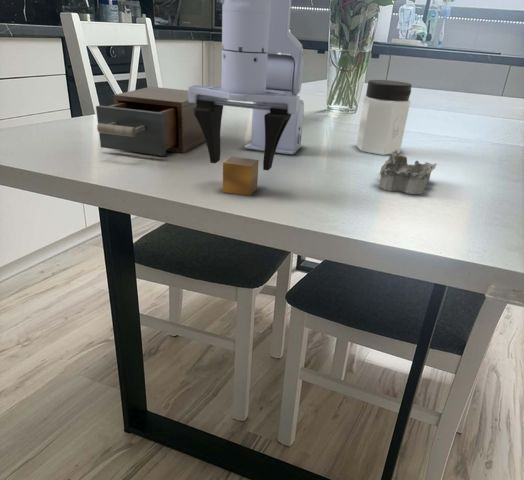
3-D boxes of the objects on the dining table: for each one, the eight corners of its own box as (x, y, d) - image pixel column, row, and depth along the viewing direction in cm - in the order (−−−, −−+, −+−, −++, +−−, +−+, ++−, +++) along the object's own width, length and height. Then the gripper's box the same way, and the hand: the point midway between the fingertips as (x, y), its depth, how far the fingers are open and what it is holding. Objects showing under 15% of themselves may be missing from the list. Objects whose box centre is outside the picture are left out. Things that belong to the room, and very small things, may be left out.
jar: (375, 156, 92) (389, 85, 85) (347, 147, 98) (357, 79, 91) (407, 152, 96) (422, 85, 90) (379, 144, 102) (391, 79, 95)
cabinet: (183, 153, 85) (181, 102, 81) (118, 144, 87) (113, 94, 83) (211, 138, 97) (211, 92, 92) (154, 130, 99) (151, 86, 95)
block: (257, 188, 71) (258, 159, 68) (249, 196, 67) (250, 166, 65) (231, 184, 71) (232, 156, 69) (222, 192, 68) (222, 162, 66)
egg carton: (389, 174, 82) (394, 148, 80) (433, 182, 79) (440, 156, 77) (372, 188, 74) (377, 160, 72) (420, 197, 71) (428, 169, 69)
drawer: (150, 162, 75) (147, 118, 72) (85, 153, 78) (79, 110, 74) (193, 140, 90) (193, 103, 86) (138, 133, 92) (135, 96, 89)
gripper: (177, 47, 58) (181, 164, 65) (295, 57, 55) (284, 178, 63) (199, 45, 63) (200, 154, 71) (306, 55, 61) (296, 166, 68)
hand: (241, 165), depth 67 cm, fingers open, 7 cm apart
